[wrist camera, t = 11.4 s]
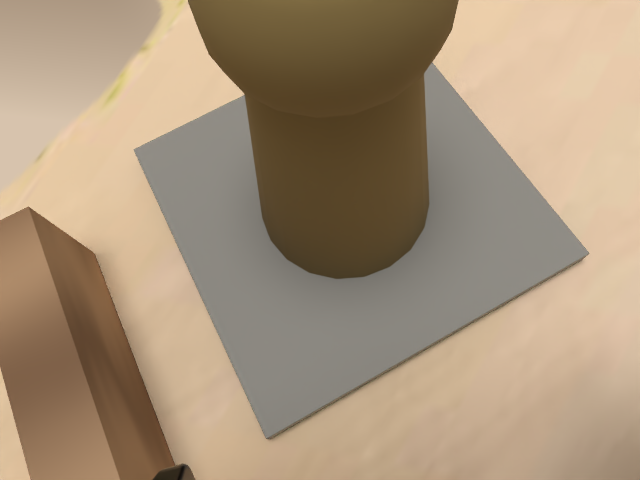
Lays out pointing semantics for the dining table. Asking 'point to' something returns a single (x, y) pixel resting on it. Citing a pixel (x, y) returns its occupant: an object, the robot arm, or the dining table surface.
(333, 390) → the grey mat
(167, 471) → the robot arm
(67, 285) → the walnut divider
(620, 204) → the dining table surface
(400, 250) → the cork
